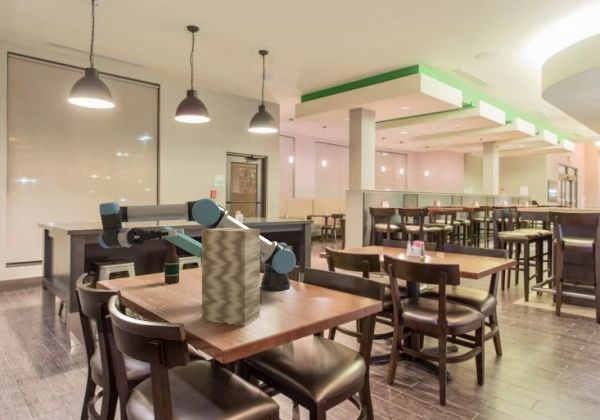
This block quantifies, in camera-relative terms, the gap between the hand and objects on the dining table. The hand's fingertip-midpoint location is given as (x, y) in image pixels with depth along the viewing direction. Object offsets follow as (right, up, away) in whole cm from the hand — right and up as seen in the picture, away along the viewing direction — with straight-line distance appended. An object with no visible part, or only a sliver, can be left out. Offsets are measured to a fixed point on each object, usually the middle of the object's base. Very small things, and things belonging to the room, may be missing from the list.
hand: (179, 232), depth 154 cm
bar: (+1, -5, 0) cm, 6 cm away
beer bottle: (-21, -31, +56) cm, 67 cm away
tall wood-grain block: (+22, -32, -7) cm, 40 cm away
